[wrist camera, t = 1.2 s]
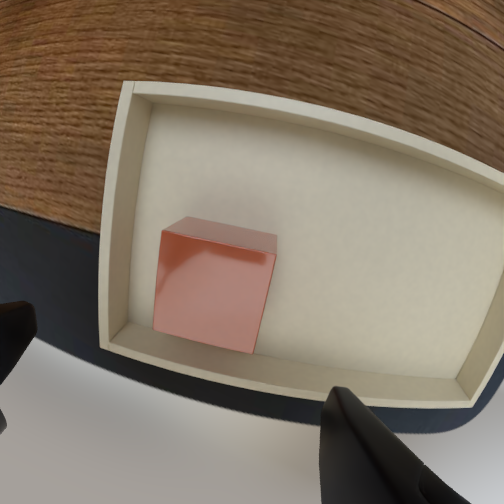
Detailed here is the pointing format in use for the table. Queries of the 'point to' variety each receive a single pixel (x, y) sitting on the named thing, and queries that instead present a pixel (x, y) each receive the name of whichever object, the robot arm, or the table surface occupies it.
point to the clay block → (213, 282)
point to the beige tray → (310, 245)
